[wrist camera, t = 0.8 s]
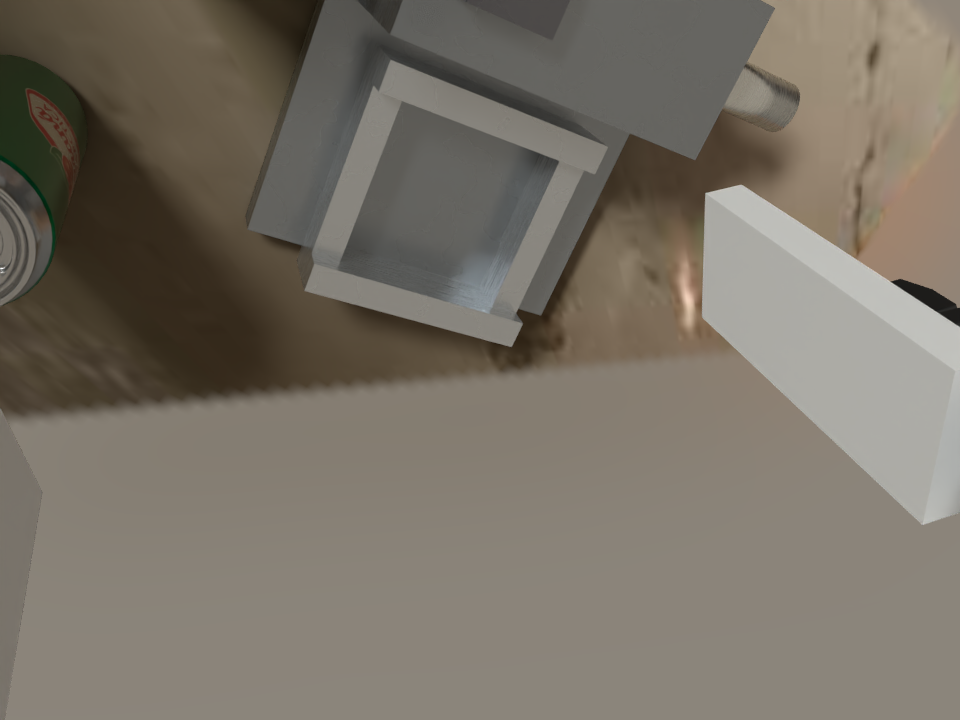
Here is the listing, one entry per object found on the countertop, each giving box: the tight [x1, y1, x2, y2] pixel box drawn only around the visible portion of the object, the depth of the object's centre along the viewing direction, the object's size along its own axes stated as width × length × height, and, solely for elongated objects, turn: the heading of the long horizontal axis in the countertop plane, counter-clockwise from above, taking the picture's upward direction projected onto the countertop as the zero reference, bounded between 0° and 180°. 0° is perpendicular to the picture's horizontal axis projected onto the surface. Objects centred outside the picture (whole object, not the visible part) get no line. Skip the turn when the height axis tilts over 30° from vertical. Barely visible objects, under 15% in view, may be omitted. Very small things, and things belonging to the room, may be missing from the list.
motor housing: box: [246, 0, 800, 347], centre depth 35 cm, size 18×17×10 cm
